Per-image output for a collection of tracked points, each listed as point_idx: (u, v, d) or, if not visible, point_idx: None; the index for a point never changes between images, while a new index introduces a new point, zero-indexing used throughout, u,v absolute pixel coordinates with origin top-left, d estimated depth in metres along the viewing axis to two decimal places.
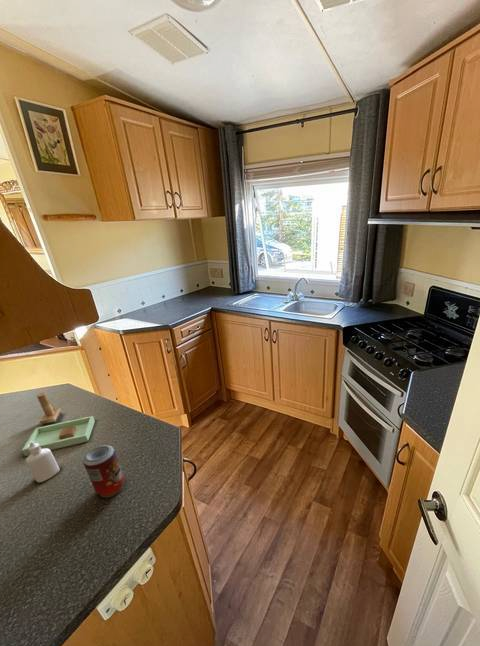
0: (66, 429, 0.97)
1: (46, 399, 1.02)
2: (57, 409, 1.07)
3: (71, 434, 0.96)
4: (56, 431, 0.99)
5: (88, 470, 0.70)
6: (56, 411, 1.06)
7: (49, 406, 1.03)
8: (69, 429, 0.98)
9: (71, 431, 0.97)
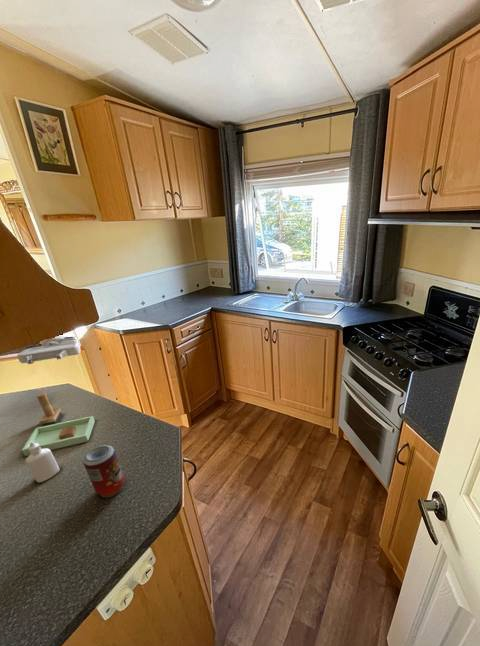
0: (66, 429, 0.97)
1: (46, 399, 1.02)
2: (57, 409, 1.07)
3: (71, 434, 0.96)
4: (56, 431, 0.99)
5: (88, 470, 0.70)
6: (56, 411, 1.06)
7: (49, 406, 1.03)
8: (69, 429, 0.98)
9: (71, 431, 0.97)
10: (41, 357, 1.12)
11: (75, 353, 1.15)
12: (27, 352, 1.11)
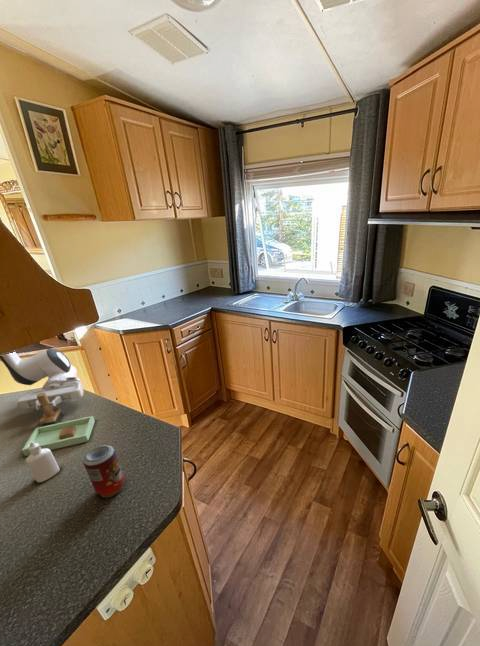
0: (66, 429, 0.97)
1: (46, 399, 1.02)
2: (57, 409, 1.07)
3: (71, 434, 0.96)
4: (56, 431, 0.99)
5: (88, 470, 0.70)
6: (56, 411, 1.06)
7: (49, 406, 1.03)
8: (69, 429, 0.98)
9: (71, 431, 0.97)
10: None
11: (78, 397, 1.09)
12: (27, 397, 1.05)
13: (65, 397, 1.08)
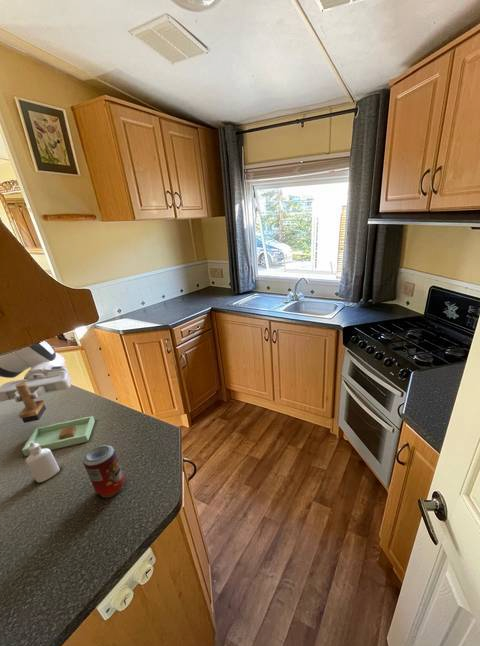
0: (66, 429, 0.97)
1: (26, 390, 0.89)
2: (40, 401, 0.95)
3: (71, 434, 0.96)
4: (56, 431, 0.99)
5: (88, 470, 0.70)
6: (38, 404, 0.93)
7: (30, 398, 0.90)
8: (69, 429, 0.98)
9: (71, 431, 0.97)
10: None
11: (64, 388, 0.97)
12: (6, 388, 0.92)
13: (49, 388, 0.96)
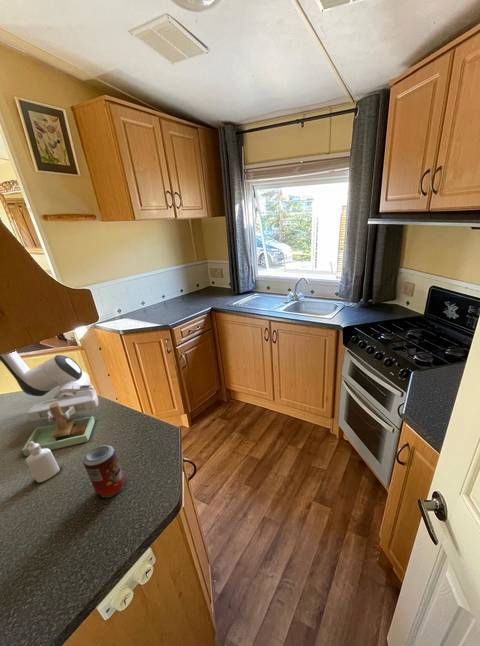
0: (78, 427, 0.98)
1: (59, 410, 0.93)
2: (70, 420, 0.99)
3: (83, 431, 0.97)
4: None
5: (88, 470, 0.70)
6: (69, 423, 0.97)
7: (62, 418, 0.94)
8: (80, 427, 0.99)
9: (82, 429, 0.97)
10: None
11: (93, 407, 1.01)
12: (38, 408, 0.96)
13: (79, 407, 1.00)
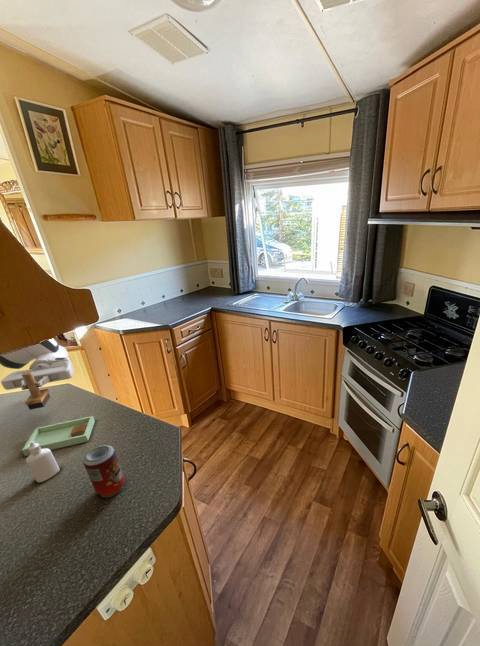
0: (78, 427, 0.98)
1: (32, 378, 0.95)
2: (45, 390, 1.00)
3: (83, 431, 0.97)
4: (56, 431, 0.99)
5: (88, 470, 0.70)
6: (43, 392, 0.99)
7: (35, 386, 0.96)
8: (80, 427, 0.99)
9: (82, 429, 0.97)
10: None
11: (67, 377, 1.02)
12: (12, 377, 0.98)
13: (53, 377, 1.01)
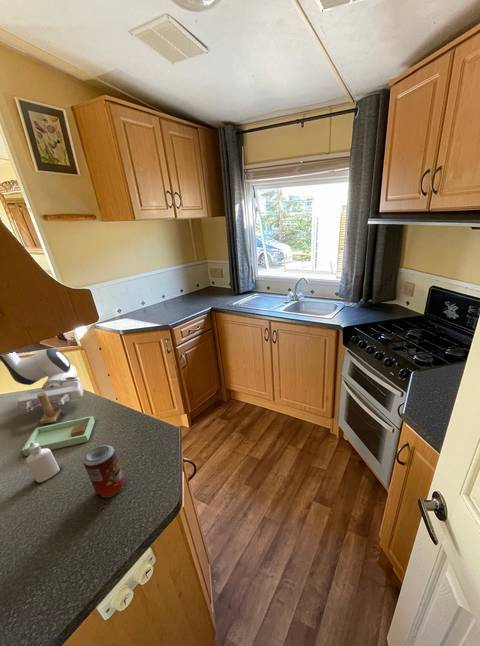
0: (78, 427, 0.98)
1: (46, 399, 1.02)
2: (57, 409, 1.07)
3: (83, 431, 0.97)
4: (56, 431, 0.99)
5: (88, 470, 0.70)
6: (56, 411, 1.06)
7: (49, 406, 1.03)
8: (80, 427, 0.99)
9: (82, 429, 0.97)
10: None
11: (77, 396, 1.09)
12: (27, 397, 1.05)
13: None
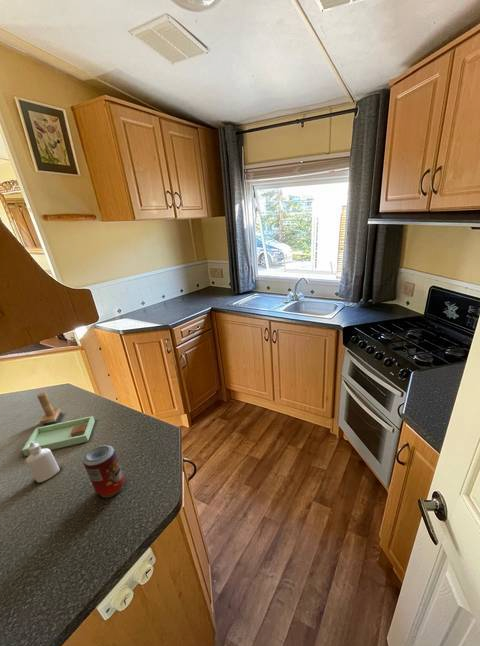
0: (78, 427, 0.98)
1: (46, 399, 1.02)
2: (57, 409, 1.07)
3: (83, 431, 0.97)
4: (56, 431, 0.99)
5: (88, 470, 0.70)
6: (56, 411, 1.06)
7: (49, 406, 1.03)
8: (80, 427, 0.99)
9: (82, 429, 0.97)
10: None
11: None
12: None
13: None
